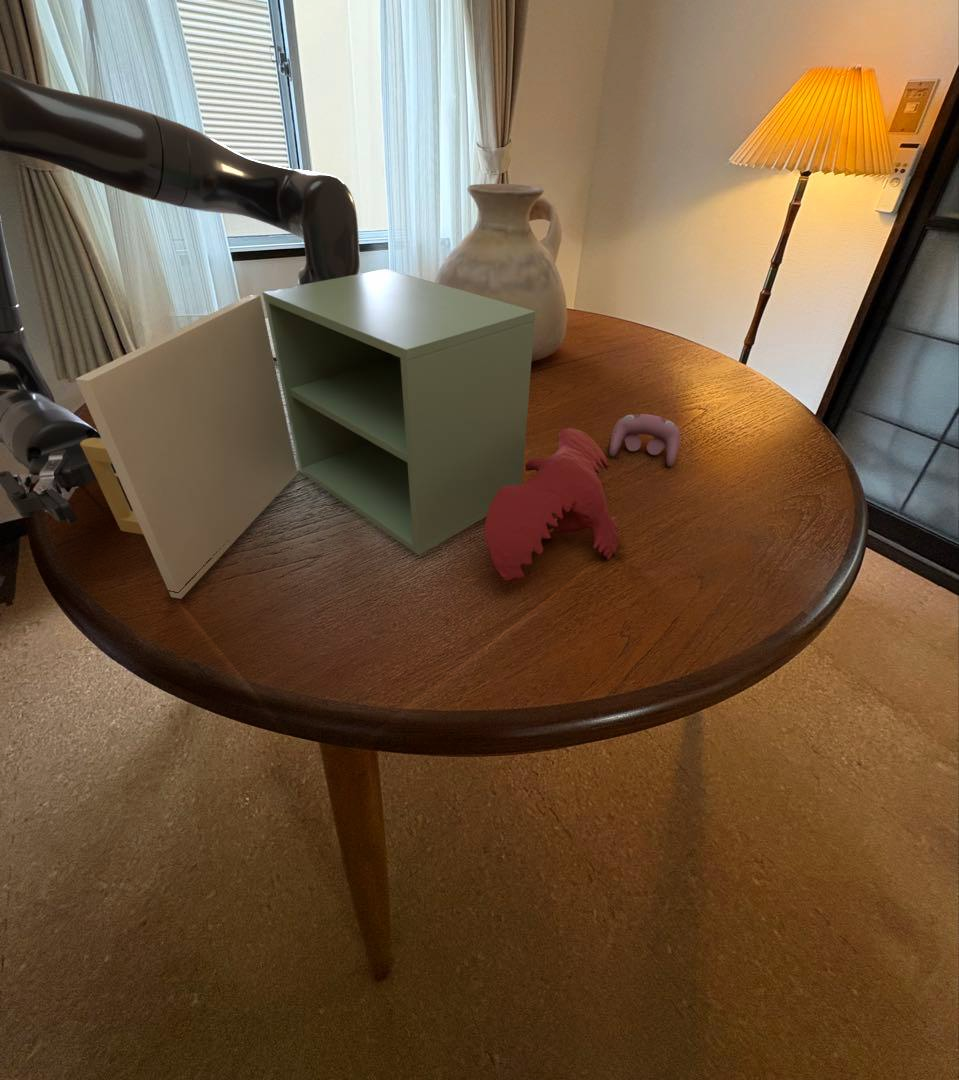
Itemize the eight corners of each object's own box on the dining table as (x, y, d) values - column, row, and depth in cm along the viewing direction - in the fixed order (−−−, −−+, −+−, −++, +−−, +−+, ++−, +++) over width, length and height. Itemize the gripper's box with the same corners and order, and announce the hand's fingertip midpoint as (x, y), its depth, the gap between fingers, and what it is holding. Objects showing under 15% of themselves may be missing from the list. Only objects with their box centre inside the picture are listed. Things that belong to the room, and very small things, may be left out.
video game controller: (673, 466, 85) (684, 420, 84) (674, 467, 81) (686, 419, 79) (608, 455, 88) (617, 410, 86) (606, 455, 83) (616, 408, 82)
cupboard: (418, 556, 65) (406, 349, 50) (299, 471, 79) (262, 292, 64) (521, 496, 75) (535, 311, 61) (399, 431, 89) (386, 268, 75)
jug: (398, 359, 115) (387, 187, 96) (484, 318, 138) (488, 173, 119) (522, 391, 103) (535, 202, 85) (593, 341, 126) (616, 184, 108)
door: (118, 587, 60) (7, 370, 45) (249, 467, 80) (201, 290, 65) (181, 599, 58) (88, 380, 44) (297, 473, 79) (260, 295, 64)
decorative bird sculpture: (612, 514, 80) (554, 426, 77) (669, 491, 73) (609, 394, 71) (522, 643, 60) (441, 531, 58) (589, 626, 54) (502, 500, 51)
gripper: (-44, 433, 56) (15, 492, 48) (106, 390, 64) (177, 434, 56) (-5, 496, 60) (54, 560, 52) (130, 448, 69) (199, 496, 61)
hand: (118, 494), depth 54 cm, fingers open, 8 cm apart
